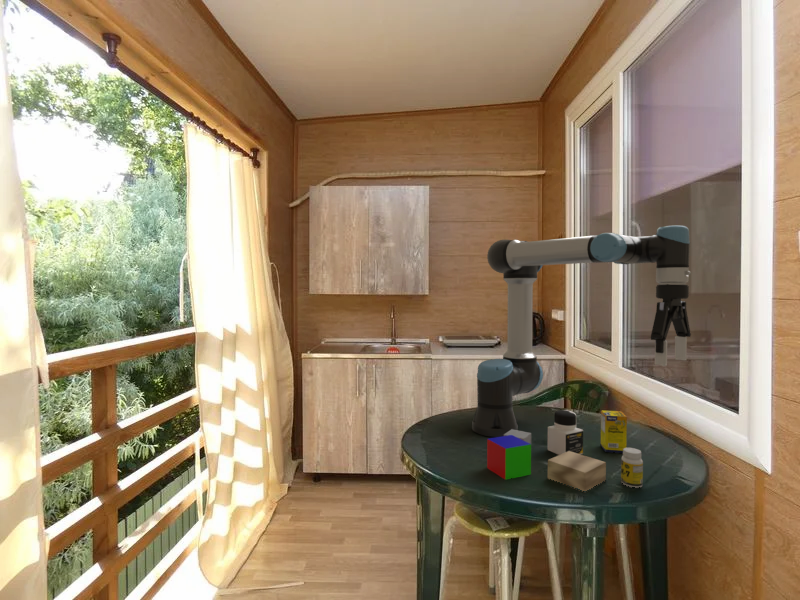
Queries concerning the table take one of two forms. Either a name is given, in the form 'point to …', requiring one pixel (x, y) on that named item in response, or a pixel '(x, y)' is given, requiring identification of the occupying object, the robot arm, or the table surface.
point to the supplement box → (613, 431)
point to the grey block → (520, 435)
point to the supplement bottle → (632, 468)
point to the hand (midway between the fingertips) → (670, 362)
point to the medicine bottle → (565, 434)
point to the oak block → (577, 470)
